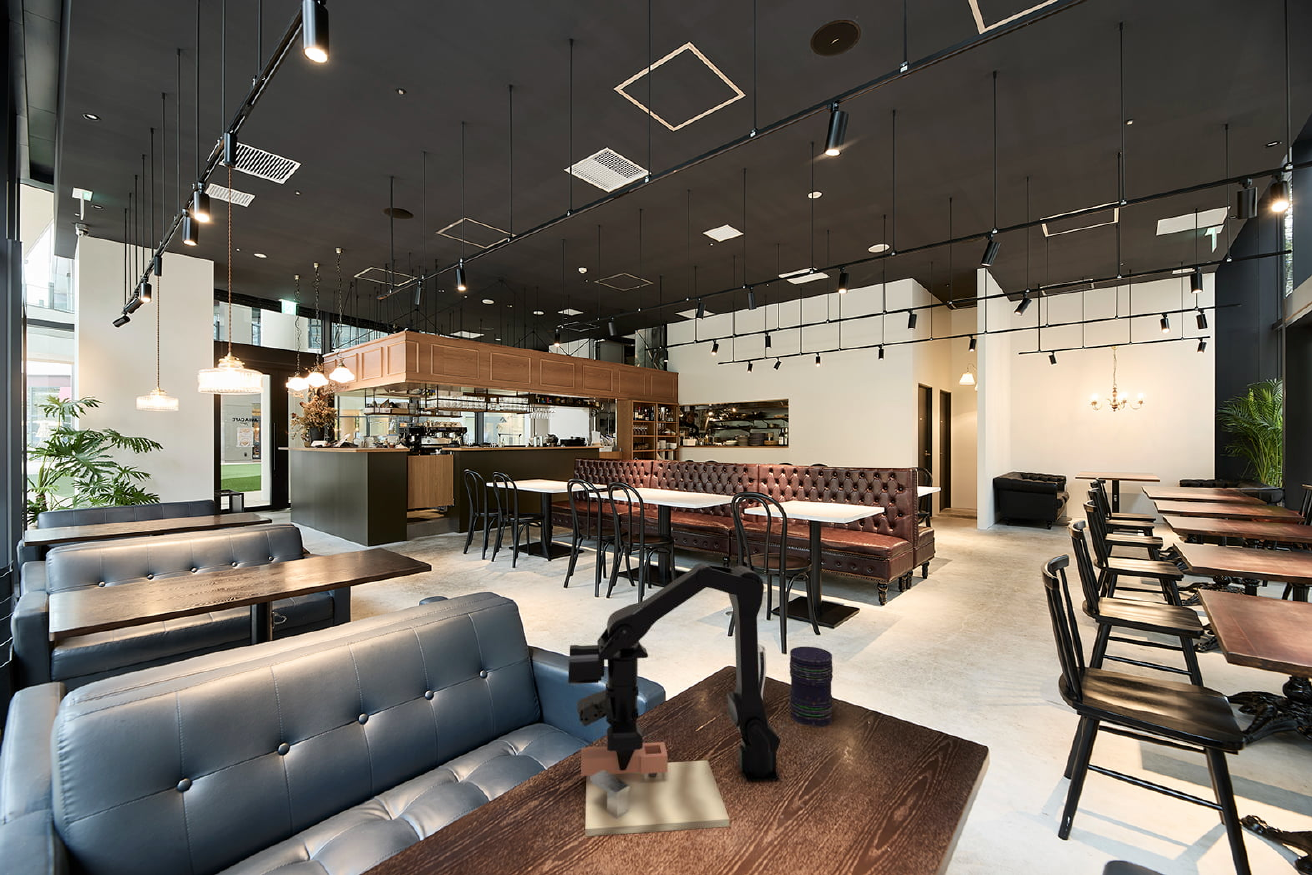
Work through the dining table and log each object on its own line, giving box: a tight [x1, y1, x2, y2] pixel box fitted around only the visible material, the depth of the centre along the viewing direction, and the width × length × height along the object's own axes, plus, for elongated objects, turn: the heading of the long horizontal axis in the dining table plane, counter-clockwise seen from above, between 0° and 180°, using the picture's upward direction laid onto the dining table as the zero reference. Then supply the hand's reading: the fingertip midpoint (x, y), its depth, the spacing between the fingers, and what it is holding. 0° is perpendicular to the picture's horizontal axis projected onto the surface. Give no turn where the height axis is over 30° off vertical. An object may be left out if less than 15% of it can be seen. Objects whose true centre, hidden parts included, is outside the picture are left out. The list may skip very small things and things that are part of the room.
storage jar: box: [789, 646, 834, 728], centre depth 134 cm, size 10×10×15 cm
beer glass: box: [758, 643, 767, 701], centre depth 138 cm, size 7×7×15 cm
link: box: [580, 741, 669, 777], centre depth 107 cm, size 16×5×3 cm, turn 96°
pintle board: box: [584, 759, 730, 837], centre depth 103 cm, size 24×18×4 cm
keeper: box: [590, 770, 629, 818], centre depth 98 cm, size 3×7×4 cm, turn 46°
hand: (622, 763), depth 107 cm, fingers closed on link, 4 cm apart
